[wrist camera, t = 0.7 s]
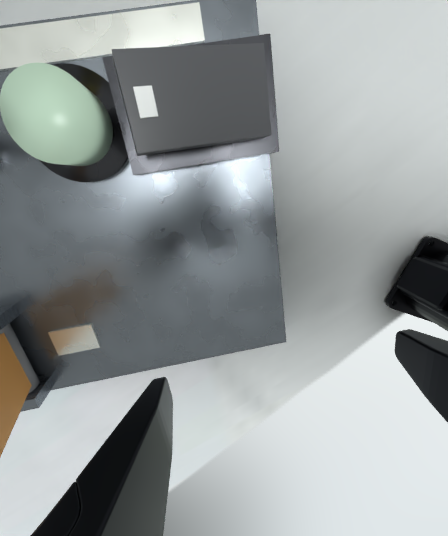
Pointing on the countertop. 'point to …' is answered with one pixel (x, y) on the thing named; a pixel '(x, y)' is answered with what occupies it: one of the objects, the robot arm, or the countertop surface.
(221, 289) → the panel
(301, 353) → the countertop surface
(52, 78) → the button
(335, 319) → the countertop surface
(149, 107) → the labelled grey box
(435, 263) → the robot arm
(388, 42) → the countertop surface
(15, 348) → the paddle
